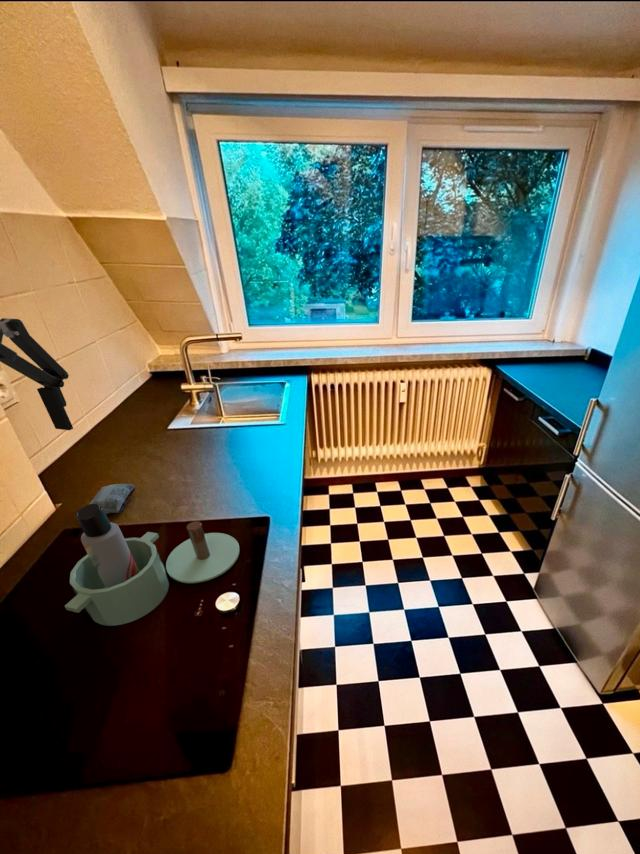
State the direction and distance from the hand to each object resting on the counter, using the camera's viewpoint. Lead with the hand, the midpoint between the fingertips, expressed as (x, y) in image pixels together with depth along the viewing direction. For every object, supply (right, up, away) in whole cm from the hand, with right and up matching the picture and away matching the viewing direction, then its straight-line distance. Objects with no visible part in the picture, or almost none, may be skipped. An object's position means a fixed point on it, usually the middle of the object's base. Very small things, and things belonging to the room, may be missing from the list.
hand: (23, 448), depth 56 cm
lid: (+16, -21, +26) cm, 37 cm away
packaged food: (-15, -12, +43) cm, 46 cm away
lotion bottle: (+5, -26, +18) cm, 32 cm away
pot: (+5, -27, +18) cm, 32 cm away
